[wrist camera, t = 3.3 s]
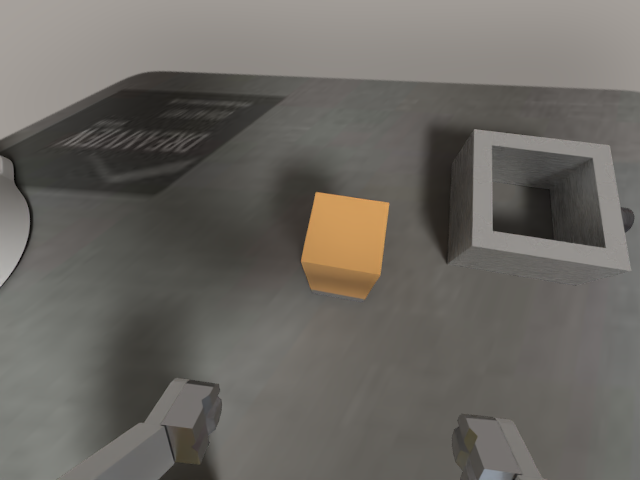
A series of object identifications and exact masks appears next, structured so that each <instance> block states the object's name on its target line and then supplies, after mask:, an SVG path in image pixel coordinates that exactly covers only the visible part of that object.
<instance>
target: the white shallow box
mask: <svg viewBox="0 0 640 480" xmlns="http://www.w3.org/2000/svg"><path fill="white" fill-rule="evenodd" d="M492 182H499V183H507V184H514V185H521V186H529V187H536V188H543V189H550V198H551V210H552V222H553V234H554V240H549V239H542V238H535V237H529V236H522V235H516V234H509V233H503V232H496V231H493V214H492ZM633 223H634V214H633V212H632V210H630V209H628V208H623V207H620V202H619V197H618V191H617V185H616V179H615V173H614V167H613V162H612V156H611V150H610V145H602V144H594V143H585V142H577V141H569V140H560V139H552V138H544V137H535V136H527V135H519V134H510V133H502V132H494V131H485V130H477V129H474V130H473V132H472V133H471V135H470V136H469V138H468V139H467V141H466V143H465V144H464V146H463V147H462V149H461V150H460V152H459V153H458V155H457V157H456V158H455V160H454V161H453V163H452V172H451V193H450V215H449V237H448V259H447V264H448V265H454V266H460V267H466V268H472V269H478V270H484V271H490V272H497V273H503V274H509V275H515V276H521V277H527V278H533V279H539V280H545V281H551V282H557V283H563V284H569V285H575V286H576V285H580V284H584V283H588V282H592V281H595V280H599V279H603V278H607V277H611V276H615V275H618V274H622V273H626V272H630V271H631V267H630V261H629V255H628V249H627V243H626V237H625V233H626V232H627V231H628V230H629V229H630V228H631V227H632V225H633Z"/></svg>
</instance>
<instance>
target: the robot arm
mask: <svg viewBox="0 0 640 480" xmlns="http://www.w3.org/2000/svg"><path fill="white" fill-rule="evenodd" d="M29 228H30V214H29V209H28V205H27V203H26V200H25V198H24V197H23V195H22V194H21V192H20V191H19V190H18V188H17V187H16V185H15V183H14V169H13V164H12V162H11V160H10V159H7V158H5V157H3V156H1V155H0V287H1V286H2V284H3V283H4V282H5V281H6V279H7V278H8V277H9V275H10V274H11V273H12V271H13V270H14V268H15V266H16V265H17V263H18V261H19V259H20V257H21V255H22V253H23V251H24V248H25V245H26V242H27V239H28V235H29ZM219 392H220V388H219V384H215V383H209V382H202V381H195V380H189V379H181V378H175V379H174V380H173V381H172V382H171V383H170V384H169V386H168V387H167V389H166V390H165V392H164V393H163V395H162V396H161V398H160V399H159V401H158V402H157V404H156V405H155V407H154V408H153V410H152V411H151V413H150V414H149V416H148V417H147V419H146V420H145V422H144V423H138V424H137V425H135V426H134V427H132V428H131V429H129V430H128V431H126V432H125V433H123V434H122V435H121V436H119V437H118V438H116V439H115V440H113V441H112V442H110V443H109V444H107V445H106V446H105V447H103V448H102V449H100V450H99V451H97V452H96V453H94V454H93V455H91V456H90V457H89V458H87V459H86V460H84V461H83V462H81V463H80V464H78V465H77V466H75V467H74V468H73V469H71V470H70V471H68V472H67V473H65V474H64V475H62V476H61V477H59V478H58V479H57V480H158V479H159V478H160V477H161V476H162V475H164V474H165V473H166V472H167V471H168V470H169V469H170V468H171V467H172V466H173V465H174V462H180V463H189V464H198V465H200V464H201V462H202V460H203V457H204V455H205V453H206V450H207V448H208V446H209V443H210V442H209V437H208V435H209V434H210V433H212V432H213V431H214V430H215V429H216V427H217V424H218V422H219V419H220V415H221V411H222V401H221V399H220V398H219V397H218V394H219ZM457 421H458V425H459V427H457V428H456V429H454V431H453V434H452V450H453V455H454V459H455V462H456V464H457V465H458V466H459V467H460V468H461V469H462V471H463V472H462V474H461V477H460V480H548V479H545V478H542V476H541V474H540V472H539V470H538V469H537V467H536V465H535V463H534V461H533V459H532V457H531V455H530V453H529V451H528V449H527V447H526V445H525V443H524V441H523V439H522V437H521V435H520V433H519V431H518V429H517V427H516V426H515V424H514V423H513V422H512V420H509V419H501V418H493V417H488V416H478V415H469V414H461V415H459V417H458V420H457Z"/></svg>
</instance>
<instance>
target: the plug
mask: <svg viewBox="0 0 640 480" xmlns="http://www.w3.org/2000/svg"><path fill="white" fill-rule="evenodd" d="M388 209H389V203H386V202H380V201H373V200H366V199H359V198H353V197H346V196H339V195H333V194H326V193H319V192H316V194H315V199H314V203H313V208H312V212H311V217H310V221H309V226H308V230H307V235H306V239H305V244H304V249H303V253H302V258H301V263H302V266H303V269H304V272H305V274H306V277H307V280H308V283H309V286H310V288H311V291H312V293H315V294H320V295H325V296H331V297H336V298H342V299H347V300H353V301H358V302H363V301H364V300H365V298H366V297H367V295H368V293H369V292H370V290H371V289H372V287H373V286H374V284H375V283H376V281H377V280H378V278H379V276H380V274H381V266H382V258H383V250H384V242H385V234H386V226H387V217H388Z"/></svg>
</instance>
